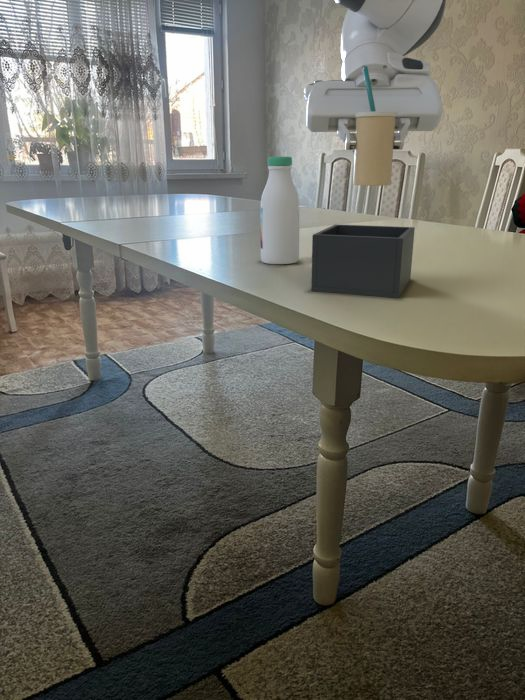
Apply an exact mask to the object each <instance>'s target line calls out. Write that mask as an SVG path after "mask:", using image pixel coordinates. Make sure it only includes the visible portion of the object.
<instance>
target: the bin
mask: <svg viewBox="0 0 525 700" xmlns="http://www.w3.org/2000/svg"><path fill="white" fill-rule="evenodd" d="M415 230H416V229H415V227H414V226H392V225H391V226H390V225H389V226H387V225H363V224H361V225H360V224H337V223H335V224H333V225H331V226H328V227H327V228H324V229H322V230H320V231H317V232H316V233H313V234H312V238H311V239H312V240H311V241H312V242H311V243H312V244H311V284H310V285H311V289H310V291H311V292H319V293H320V292H321V293H331V294H346V295H357V296H369V297H381V298H392V299H393V298H395V299H399V298H400V296H401V295H402V293H403V292H404V290H405V288H406V287H407V286H408V284H409V282H410V281H411V278H412V277H411V276H412V265H413V254H414V241H415Z"/></svg>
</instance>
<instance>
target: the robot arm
mask: <svg viewBox="0 0 525 700" xmlns="http://www.w3.org/2000/svg"><path fill="white" fill-rule="evenodd" d="M334 1H335V4H339V5H340V6H341V7H344V8H345V9H347V11H346V13H345V15H344V18H343V22H342V28H341V35H340V55H341V60H342V64H341V79H332V80H331V79H330V80H323V79H322V80H313V83H312V82H311V83H309V84H307V85H306V86H305V87H304V91H303V92H304V94H303V95H304V100H305V102H306V103H307V104H306V121H305V122H306V123H305V124H306V125H305V126H306V128H307V129H308V130H309V131H310V132H312V133H336V134H337V137H338V138H340V140H341V141H342V142H343V143H344V148H345V151H355V148H356V147H355V146H356V118H355V113H358V112H371V110H370V105H369V100H368V94H367V89H366V84H365V79H364V73H363V67H364V66H367V67H368V72H369V78H370V83H371V88H372V94H373V99H374V104H375V110H376V111H390V112H397V117H395V131H394V145H393V151H397V150H400V151H402V150H403V149H404V145H405V139H406V138H407V136H408V134H409V132H433V131H435V130H436V129H437V127H439V125H440V121H441V119H442V116H443V101H442V97H441V93H440V89H439V87H438V84H437V82H436V81H435V79H434V78H433V77H431V76H430V75H431V74H430V73H431V64H430V63H429V62H428V61H425V60H421V59H417V58H412V57H408V56H407V55H409V54H410V53H412V52H413V51H415V50H416V49H418V48H420V47H421V46H422V45H423V44H425V43H426V42H427V41H428V40H429V39H430V38H431V37H432V36H433V34H434V33H435V32H436V31H437V30H438V28H439V26H440V24H441V22H442V19H443V16H444V12H445V8H446V2H447V0H334Z"/></svg>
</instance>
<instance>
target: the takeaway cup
mask: <svg viewBox="0 0 525 700" xmlns="http://www.w3.org/2000/svg"><path fill="white" fill-rule="evenodd" d="M363 73H364V79H365V84H366V89H367V94H368V100H369V105H370V110H371V112H358V113H355V118H356V132H355V133H356V146H355V147H356V148H355V150H354V157H353V160H354V162H353V178H352V179H353V180H352V185H353V186H361V187H362V186H365V187H377V186H378V187H379V186H380V187H381V186H383V187H384V186H391V185H392V173H393V171H392V170H393V157H394V150H393V145H394V133H395V132H396V131H395V117H397V112H390V111H376V110H375V104H374V99H373V94H372V88H371V83H370V78H369V72H368V67H367V66H364V67H363Z"/></svg>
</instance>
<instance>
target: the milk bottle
mask: <svg viewBox="0 0 525 700" xmlns="http://www.w3.org/2000/svg"><path fill="white" fill-rule="evenodd" d="M292 165H293V158H292V156H269V157H268V158H267V169H268V177H267V180H266V184H265V186H264V189H263V192H262V194H261V198H260V208H259V209H260V212H259V214H260V216H259V219H260V220H259V221H260V222H259V223H260V225H259V226H260V230H259V231H260V238H259V239H260V260H261V263H264V264H267V265H290V264H295V263H298V262H299V260H300V200H299V195H298V191H297V188H296V186H295V184H294V181H293V177H292V173H291V170H292V169H293V167H292Z"/></svg>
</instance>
